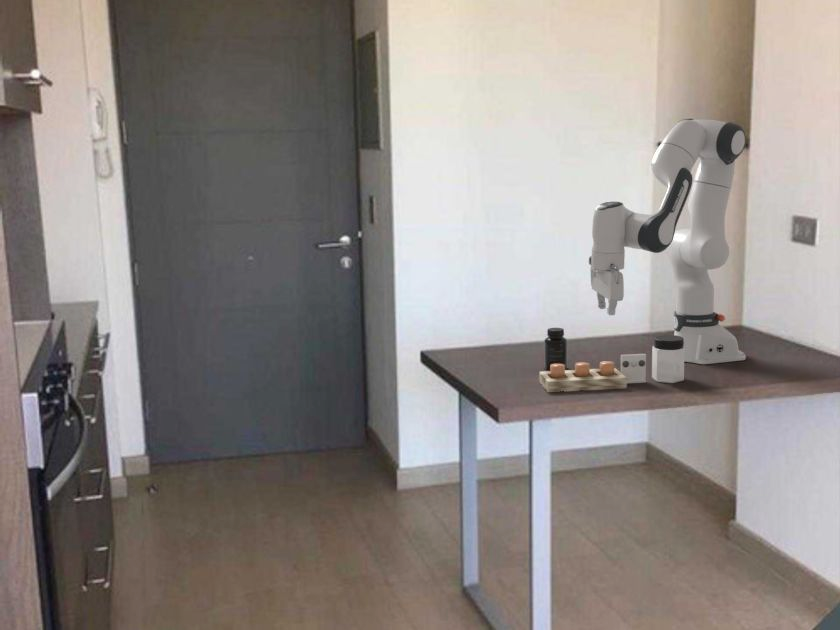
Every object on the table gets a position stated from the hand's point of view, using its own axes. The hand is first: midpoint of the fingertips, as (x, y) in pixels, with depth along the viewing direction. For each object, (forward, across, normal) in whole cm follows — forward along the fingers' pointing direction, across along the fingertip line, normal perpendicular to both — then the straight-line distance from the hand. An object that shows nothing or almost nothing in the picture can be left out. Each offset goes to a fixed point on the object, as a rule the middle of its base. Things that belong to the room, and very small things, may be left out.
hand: (606, 311), depth 273 cm
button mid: (+18, 0, +6) cm, 19 cm away
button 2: (+18, 0, -1) cm, 18 cm away
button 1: (+18, -1, +13) cm, 22 cm away
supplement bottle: (+21, +19, +10) cm, 30 cm away
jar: (+20, +1, -19) cm, 28 cm away
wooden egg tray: (+21, 0, +6) cm, 22 cm away
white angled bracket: (+20, 0, -8) cm, 22 cm away
